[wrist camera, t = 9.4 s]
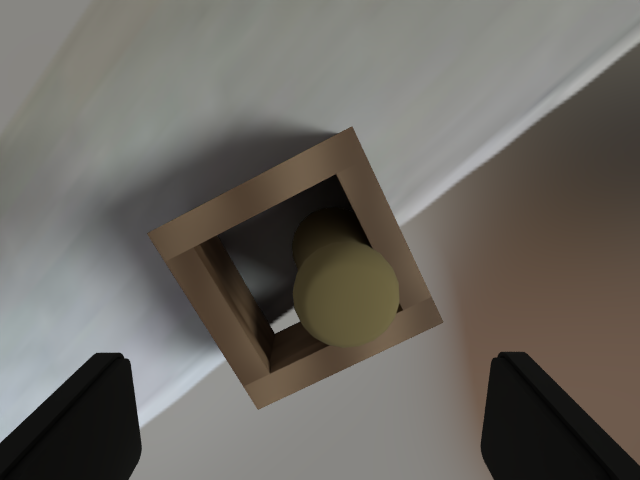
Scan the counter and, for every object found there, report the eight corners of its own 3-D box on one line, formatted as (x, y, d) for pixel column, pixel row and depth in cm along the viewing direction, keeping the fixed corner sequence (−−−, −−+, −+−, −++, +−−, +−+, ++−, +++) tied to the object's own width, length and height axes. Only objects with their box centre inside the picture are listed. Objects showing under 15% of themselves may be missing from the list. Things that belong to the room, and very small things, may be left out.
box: (340, 133, 26) (352, 126, 19) (410, 281, 28) (443, 322, 22) (187, 213, 27) (146, 233, 20) (269, 350, 29) (258, 409, 22)
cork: (382, 276, 28) (427, 351, 18) (303, 295, 28) (301, 382, 18) (364, 197, 27) (402, 227, 16) (282, 218, 27) (265, 261, 16)
